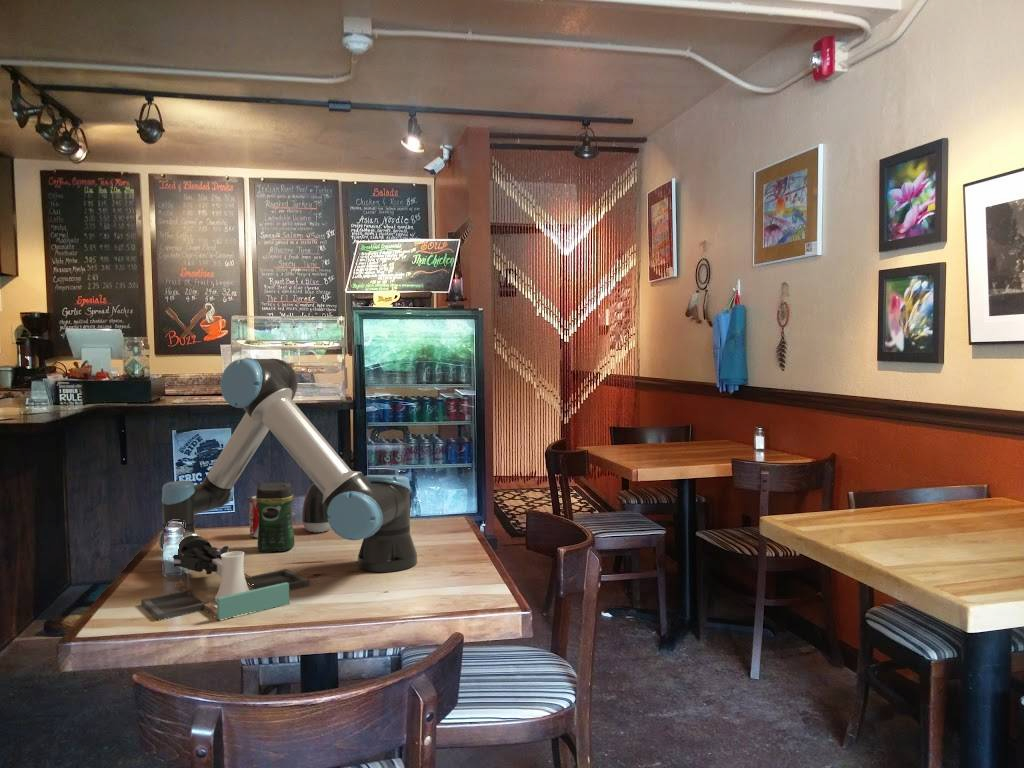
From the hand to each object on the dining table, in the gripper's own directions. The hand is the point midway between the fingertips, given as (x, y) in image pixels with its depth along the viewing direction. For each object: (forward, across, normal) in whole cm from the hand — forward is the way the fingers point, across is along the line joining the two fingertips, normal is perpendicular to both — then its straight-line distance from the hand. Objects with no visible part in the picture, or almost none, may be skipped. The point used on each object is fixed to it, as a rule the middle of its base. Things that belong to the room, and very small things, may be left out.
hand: (225, 570), depth 158 cm
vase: (+3, -1, -6) cm, 7 cm away
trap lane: (-1, -1, -6) cm, 6 cm away
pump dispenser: (-42, -44, -6) cm, 61 cm away
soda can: (-48, -28, -6) cm, 56 cm away
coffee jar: (-31, -25, -6) cm, 40 cm away
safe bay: (+14, -1, -6) cm, 15 cm away
